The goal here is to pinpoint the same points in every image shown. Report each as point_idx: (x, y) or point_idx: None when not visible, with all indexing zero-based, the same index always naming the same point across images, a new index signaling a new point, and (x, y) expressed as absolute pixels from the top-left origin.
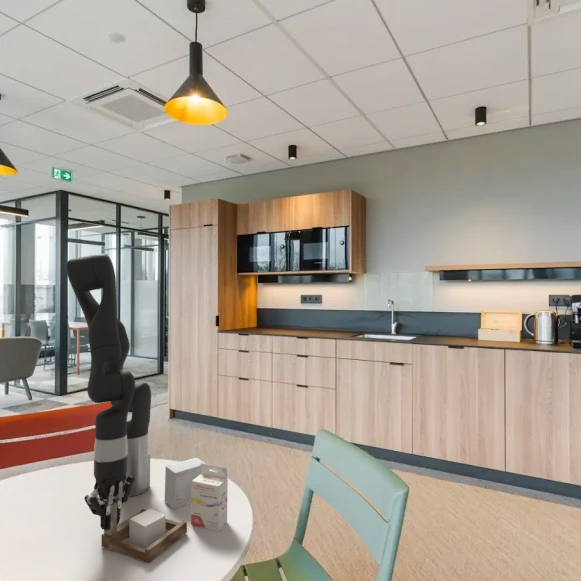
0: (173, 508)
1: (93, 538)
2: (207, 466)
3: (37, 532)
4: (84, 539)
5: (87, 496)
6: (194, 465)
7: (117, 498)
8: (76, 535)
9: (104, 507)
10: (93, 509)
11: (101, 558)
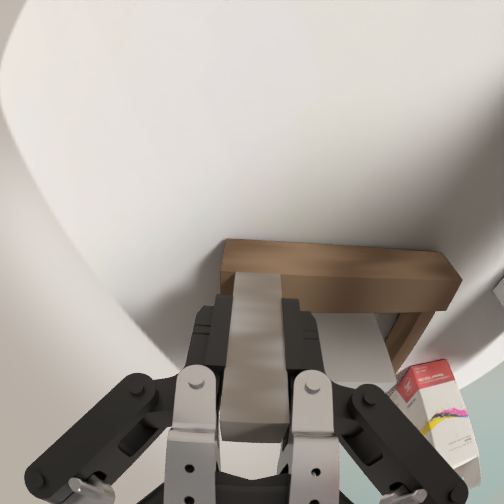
0: (494, 288)
1: (273, 143)
2: (467, 485)
3: None
4: (248, 108)
5: (39, 495)
6: None
7: (278, 467)
8: (260, 41)
9: (222, 398)
10: (112, 413)
11: (181, 278)
